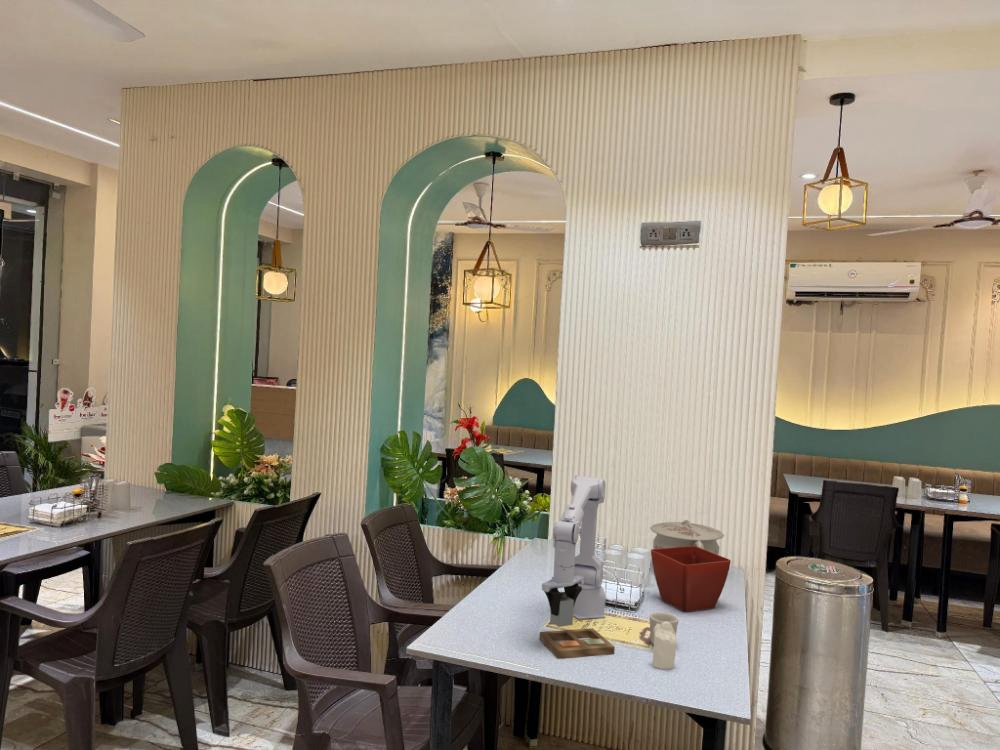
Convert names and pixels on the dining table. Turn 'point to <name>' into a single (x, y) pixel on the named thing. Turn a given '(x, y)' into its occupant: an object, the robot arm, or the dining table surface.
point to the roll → (664, 647)
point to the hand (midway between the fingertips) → (561, 612)
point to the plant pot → (689, 576)
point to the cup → (660, 618)
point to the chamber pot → (686, 536)
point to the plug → (564, 612)
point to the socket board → (576, 643)
